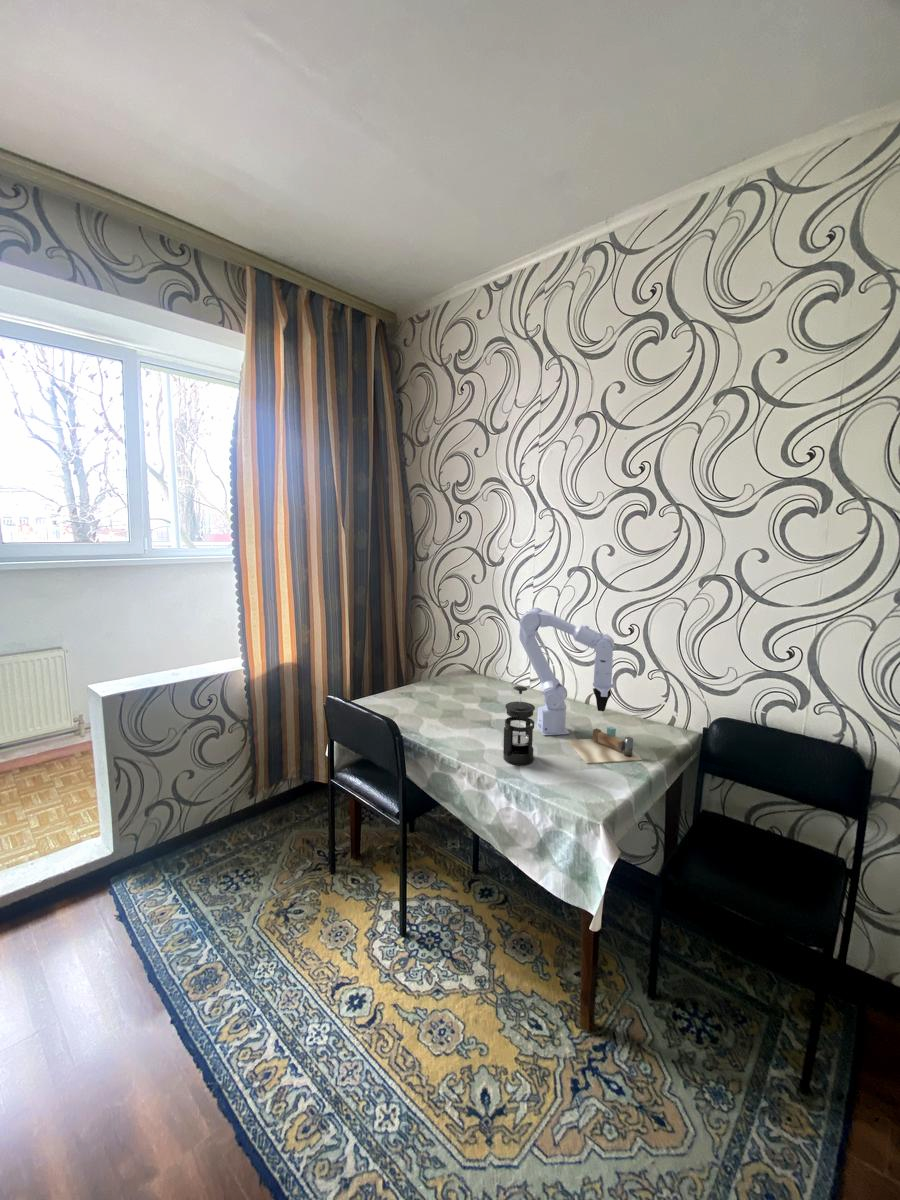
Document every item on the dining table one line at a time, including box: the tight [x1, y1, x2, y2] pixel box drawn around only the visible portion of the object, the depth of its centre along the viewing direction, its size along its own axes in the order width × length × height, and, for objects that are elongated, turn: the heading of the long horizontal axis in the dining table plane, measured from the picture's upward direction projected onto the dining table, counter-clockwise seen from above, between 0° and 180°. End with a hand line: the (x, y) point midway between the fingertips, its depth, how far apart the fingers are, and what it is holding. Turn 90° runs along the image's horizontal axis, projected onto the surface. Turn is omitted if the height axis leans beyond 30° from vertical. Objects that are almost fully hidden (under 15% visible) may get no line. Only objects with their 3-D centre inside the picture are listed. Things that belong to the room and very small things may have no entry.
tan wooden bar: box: [592, 727, 625, 752], centre depth 159 cm, size 11×2×4 cm, turn 36°
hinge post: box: [624, 736, 634, 757], centre depth 153 cm, size 2×2×6 cm
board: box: [566, 736, 643, 765], centre depth 158 cm, size 18×16×1 cm
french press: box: [502, 685, 536, 767], centre depth 150 cm, size 12×9×23 cm
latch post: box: [606, 726, 617, 737], centre depth 165 cm, size 2×2×4 cm
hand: (600, 710), depth 165 cm, fingers closed
